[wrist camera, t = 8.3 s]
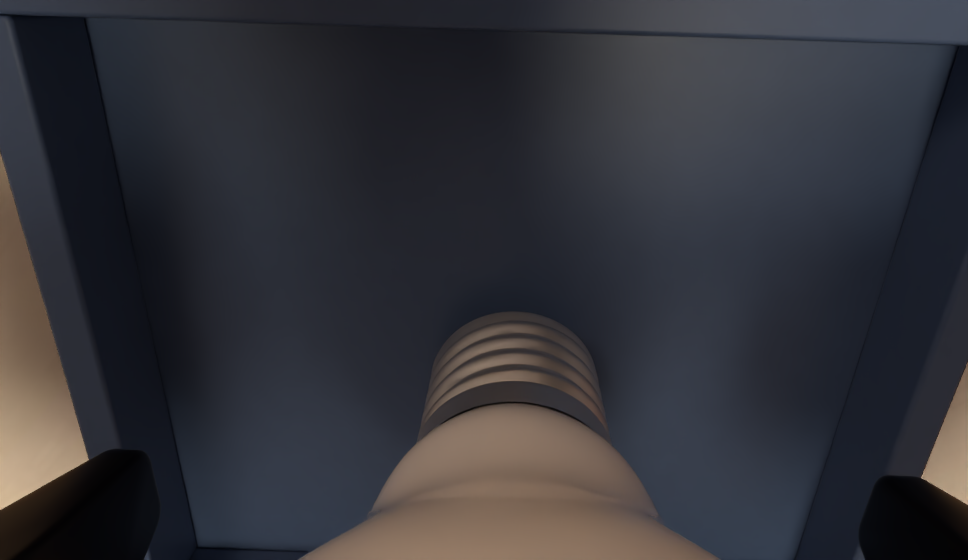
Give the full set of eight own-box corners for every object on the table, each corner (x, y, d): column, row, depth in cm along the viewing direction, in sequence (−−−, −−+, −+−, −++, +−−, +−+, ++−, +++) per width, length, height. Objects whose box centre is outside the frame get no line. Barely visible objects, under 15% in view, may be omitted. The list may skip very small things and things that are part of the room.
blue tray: (802, 567, 14) (851, 657, 12) (185, 547, 14) (137, 633, 12) (992, -8, 9) (1119, -7, 7) (52, -39, 9) (-59, -45, 7)
